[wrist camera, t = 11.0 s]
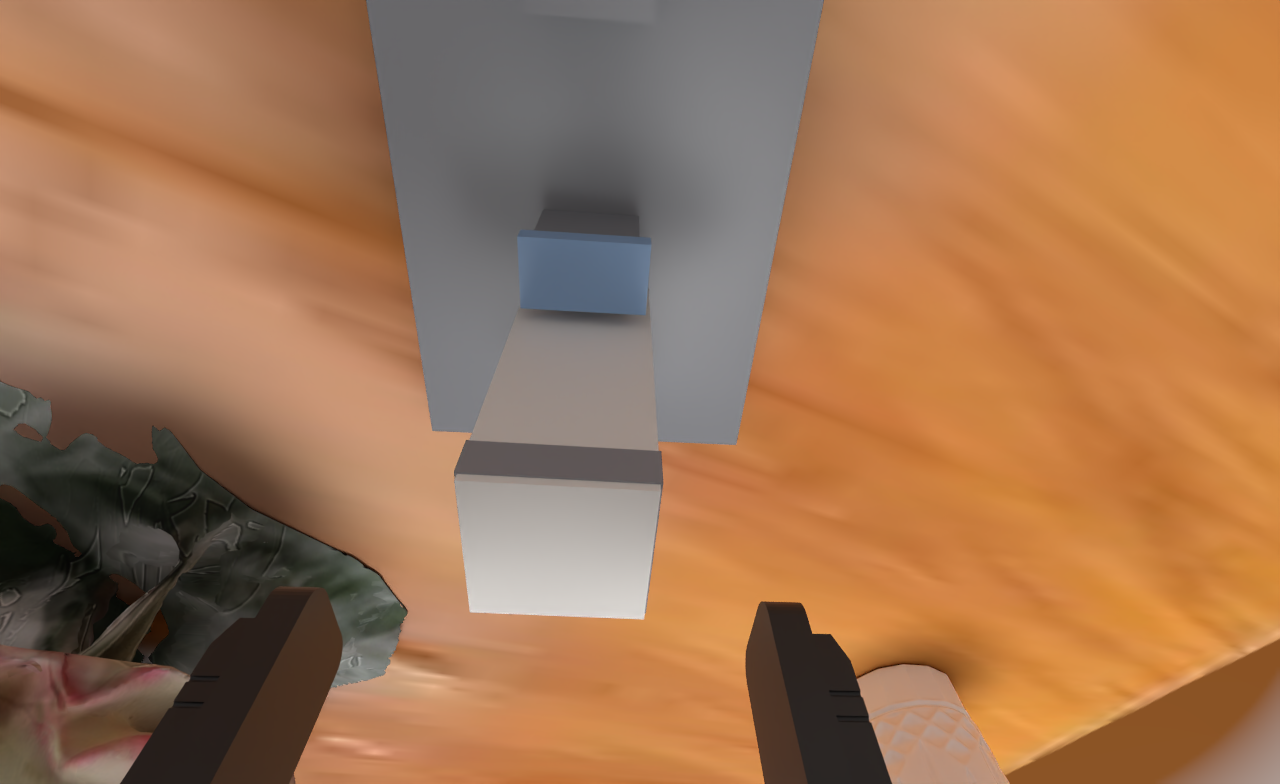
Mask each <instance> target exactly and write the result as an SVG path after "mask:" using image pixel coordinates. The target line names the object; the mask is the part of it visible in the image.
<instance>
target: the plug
mask: <svg viewBox="0 0 1280 784" xmlns="http://www.w3.org/2000/svg"><path fill="white" fill-rule="evenodd" d="M454 476H455V480H454V483H455V491H456V499H457V508H458V516H459V525H460V533H461V541H462V550H463V558H464V567H465V575H466V583H467V592H468V600H469V608H470V612H474V613H499V614H524V615H549V616H573V617H598V618H623V619H644V614H645V613H646V607H647V600H648V592H649V585H650V577H651V570H652V563H653V555H654V548H655V540H656V533H657V526H658V518H659V511H660V504H661V496H662V489H663V471H662V456H661V451H658V434H657V418H656V401H655V385H654V368H653V352H652V336H651V319H650V303H649V288H648V293H647V306H646V315H629V314H612V313H594V312H576V311H558V310H540V309H523V308H520V307H519V309H518V312H517V315H516V317H515V320H514V323H513V325H512V328H511V331H510V333H509V336H508V339H507V341H506V344H505V347H504V349H503V352H502V355H501V357H500V360H499V363H498V365H497V368H496V371H495V373H494V376H493V379H492V381H491V384H490V387H489V389H488V392H487V395H486V397H485V400H484V403H483V405H482V408H481V411H480V413H479V416H478V419H477V421H476V424H475V427H474V429H473V432H472V435H471V437H470V440H466V442H465V444H464V447H463V449H462V452H461V455H460V457H459V460H458V462H457V465H456V468H455V470H454Z"/></svg>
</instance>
